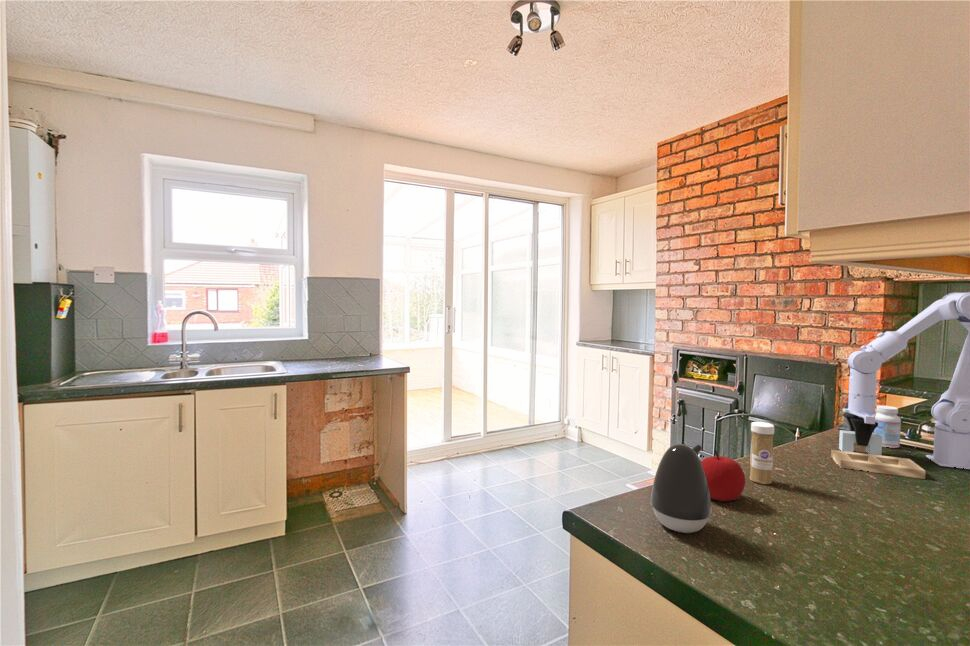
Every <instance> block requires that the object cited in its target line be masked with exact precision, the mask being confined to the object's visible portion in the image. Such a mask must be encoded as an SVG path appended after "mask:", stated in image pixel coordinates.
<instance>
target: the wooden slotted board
mask: <svg viewBox="0 0 970 646" xmlns="http://www.w3.org/2000/svg"><path fill="white" fill-rule="evenodd" d="M831 457H832V458H833V459H832V460H833V461H834V462H835V464H836V465H837V464H838V465H839V466H840V467H839V466H838V465H837V466H838V467H839V468H840V469H844V468H846V470H851V469H854V470H853V471H859V470H863V471H862V472H867V471H869V473H875V474H883V475H892V476H899V477H907V478H914V479H920V480H921V479H922V480H925V479H926V470H925V469H924V468H923V467H922V466H920V465H919V464H918V463H916V462H915V461H914V460H912V459H911V458H905V457H897V456H888V455H873V454H867V453H863V452H862V453H861V452H854V451H853V452H847V451H840V450H839V449H838V450H836V449H831V451H830V458H831Z"/></svg>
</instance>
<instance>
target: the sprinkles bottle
mask: <svg viewBox="0 0 970 646" xmlns="http://www.w3.org/2000/svg"><path fill="white" fill-rule="evenodd" d="M750 423H751V424H750V431H751V442H750V457H749V458H750V459H749V460H750V461H749V465H750V472H749V474H750V475H749V479H750V481H751V482H753V483H757V484H761V485H771V484H772V483H773V479H772V478H773V462H774V435H775V425H774V424H773V423H769V422H763V421H753V422H750Z"/></svg>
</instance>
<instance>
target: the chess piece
mask: <svg viewBox="0 0 970 646" xmlns="http://www.w3.org/2000/svg"><path fill="white" fill-rule="evenodd" d="M843 408H844V409H848V403H846V404H844V407H843ZM845 415H852V414H851V413H848V412H844V411H843V414H842V416H843V421H842V424H841V425H840V424H839V425H837V426H836V428H837V429H838V432H839V433H840V430H844V431H851V430H850V426H849V423H848V421H847V419H846V417H845ZM839 437H840V436H838V437H837V439H838V440H839Z"/></svg>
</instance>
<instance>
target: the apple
mask: <svg viewBox="0 0 970 646" xmlns="http://www.w3.org/2000/svg"><path fill="white" fill-rule="evenodd" d="M714 453H715V456H714V455H713V456H708V457H705V458H703V459H702V460H700V461H701V463H702V466H703V468H704V471H705V474H706V478H707V482H708V486H709V491H710V498H711V500H716V501H720V502H729V501H735V500H737V499H739V497H740V496H741V495H742V494H743V491H744V489H745V486H746V476H745V472H744V470H743V469H742V467H741V465H740V464H739V463H738V461H736V460H734V459H732V458H729V457H726V456H719V455H718V452H717V450H714Z"/></svg>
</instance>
